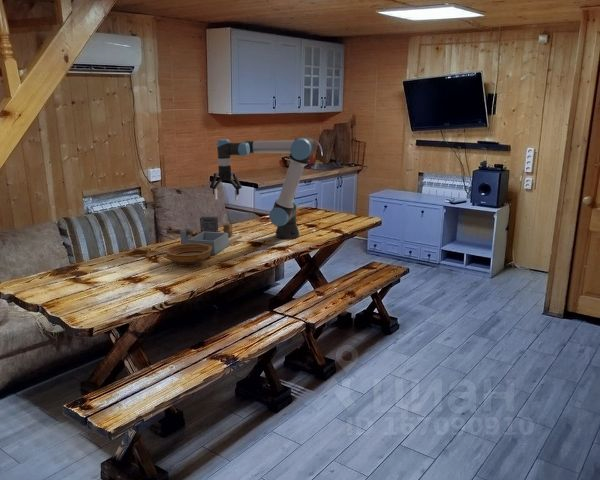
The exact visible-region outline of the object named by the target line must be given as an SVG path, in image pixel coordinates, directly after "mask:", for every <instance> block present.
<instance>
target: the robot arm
mask: <svg viewBox="0 0 600 480" xmlns="http://www.w3.org/2000/svg"><path fill="white" fill-rule="evenodd" d="M216 148H217V165H218V172H214V173H213V178H212V180H211V182H210V185H209V188H210V189H212V194H213V195H214V201H216V200H218V197H219V196H218V189H217V187H218V186H219V185H220V183H221V182H223V181H228V182H229V183H230V184H231V185H232V186H233V188H234V200H235V201H238V200H239V195H240V189H242V188H243V186H242V184H241V182H240V180H239V179H238V177H237V173H235V172H234V173H232V167H231V163H232V162H231V156H242V157H244V156H249V154H289V156H288V159H289V161H290V162H289V166H288V169H287V172H286V174H285V177H284V182H283V185H282V187H281V191H280V194H279V196H278V199H275V201H274V203H273V207H272V209H271V210H270V211H269V215H268V216H269V217H268V218H269V220H270V222H271V223H272V224H273V225H274V226H276V230H275V238H278V239H284V240H286V239H287V240H289V238H292V239H297V238H299V237H300V230H299V227H298V225H297V202H296V201H295V200H294V199H295V196H296V194H297V190H298V187H299V184H300V182H301V181H300V180H301V179H302V178H301V177H302V175H303V173H304V172H303V171H304V169H305V166H307V165H308V164H309V162H310V159H311V156H312V155H314V154H315V152H316V149H317V144H316V141H315V140H314V139H312V138H311V137H309V136H305V137H300V138H294V139H292V140H291V139H290V140H289V139H287V140H286V139H285V140H244V141H241V142H231V141H230V139H228V138H222V139H217V141H216ZM217 178H218V179H217ZM216 180H217V181H216Z"/></svg>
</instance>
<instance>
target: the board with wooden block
mask: <svg viewBox="0 0 600 480" xmlns="http://www.w3.org/2000/svg"><path fill="white" fill-rule="evenodd" d="M223 233H228V238H229V245H232V244H234V243H235V242H237V241H239V240H240V239H242V238H243V235H233V225H232V223H224V224H223Z"/></svg>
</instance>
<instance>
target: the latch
mask: <svg viewBox="0 0 600 480" xmlns="http://www.w3.org/2000/svg"><path fill="white" fill-rule="evenodd" d="M180 231H186V235H191V236H192V235H193V234H194V232H193V230H185V229H176V228H175V229H174V228H172V227H168V229H166V234H167V235H170V234H172V235H180Z"/></svg>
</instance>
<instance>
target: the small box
mask: <svg viewBox="0 0 600 480" xmlns="http://www.w3.org/2000/svg"><path fill="white" fill-rule="evenodd" d="M218 219H219V218H218V216H201V217H200V218H199V224H200V225H199V227H200V233H202V232H203V231H205V232H219V222H218Z"/></svg>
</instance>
